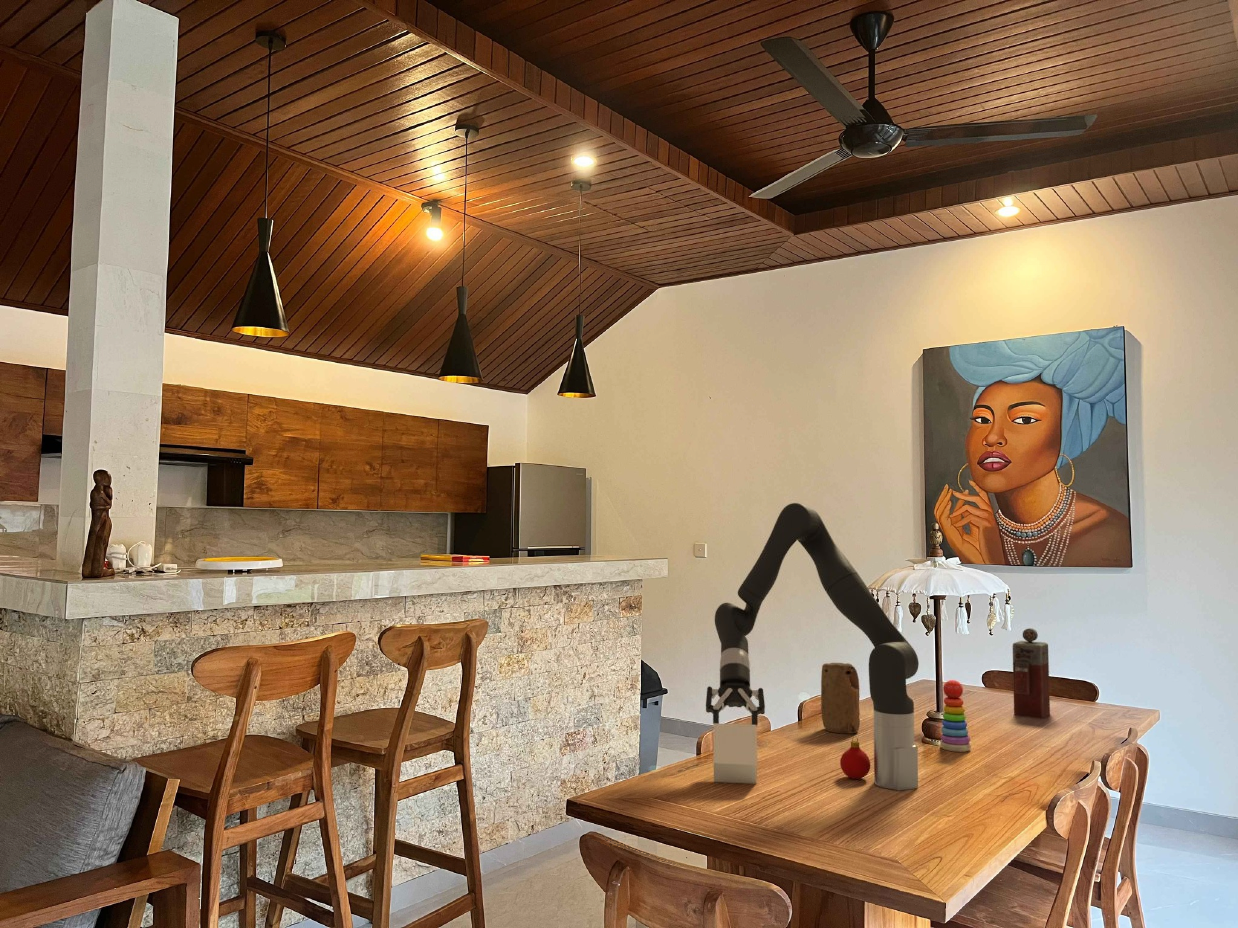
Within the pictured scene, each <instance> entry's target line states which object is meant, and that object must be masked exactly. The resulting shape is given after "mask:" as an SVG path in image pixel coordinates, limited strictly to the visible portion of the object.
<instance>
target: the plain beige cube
mask: <svg viewBox="0 0 1238 928" xmlns="http://www.w3.org/2000/svg"><path fill="white" fill-rule="evenodd" d="M757 727H758V726H757ZM757 727H756V725H752V724H741V723H740V724H739V723H719V724H717V723H714V725H713V762H712V763H713V782H714V783H733V784H734V783H735V784H736V783H737V784H755V785H756V784H757V783H758V782H757V780H758V779H757V778H758V738H757V737H758V736H757V734H758V731H757V730H758V729H757Z"/></svg>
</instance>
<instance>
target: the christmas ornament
mask: <svg viewBox="0 0 1238 928" xmlns="http://www.w3.org/2000/svg"><path fill="white" fill-rule="evenodd" d="M854 738H856V740H854ZM839 760H840V761H839V765H840V769H841V770H842V772H843V774H844V775H845V776H847V778H849V779H852V780H860V779H864V778H865V777H866V776H867V775H868V774H869V772H870V769H871V760H870V758H869V756H868V755H867V753H866V752H865V751H864V750H862V749H861V748H860V742H859V738H858V737H857V736H852V739H851V741H850V748H848V749H847V750H845V751H844V752H843V753H842V755H841V757H840V759H839Z"/></svg>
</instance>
